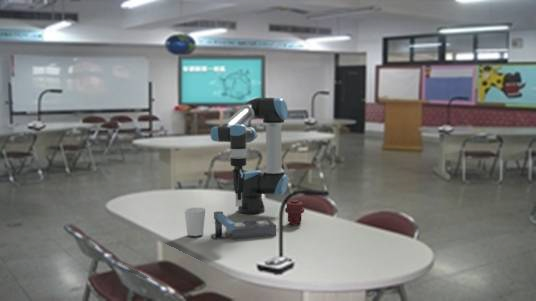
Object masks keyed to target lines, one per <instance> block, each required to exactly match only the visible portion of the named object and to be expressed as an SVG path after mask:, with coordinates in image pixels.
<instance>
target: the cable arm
mask: <svg viewBox="0 0 536 301" xmlns="http://www.w3.org/2000/svg"><path fill="white" fill-rule="evenodd" d="M213 219H214V221H215V220H218V221H219V222H220V223H221V224H222V226H223V227H225V229H226V228H227V229H228V230H235V227H234V223H233V222H234V221H233V220H231V219H230V218H229V217H228V216H226V215H225V214H224V212H223V211H214V212H213Z"/></svg>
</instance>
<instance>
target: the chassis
mask: <svg viewBox="0 0 536 301" xmlns="http://www.w3.org/2000/svg"><path fill="white" fill-rule="evenodd" d="M232 222H233V223H234V227H235V230H228V229H227V228H226V227H225V235H226V236H228V237H229V238H230V239H231V240H241V239H243V240H244V239H251V238H264V237H272V236H274V237H275V236H277V225H276V224H275V223H274V222H272V221H271V220H270V219H257V220H247V221H246V220H245V221H244V220H243V221H232Z"/></svg>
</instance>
